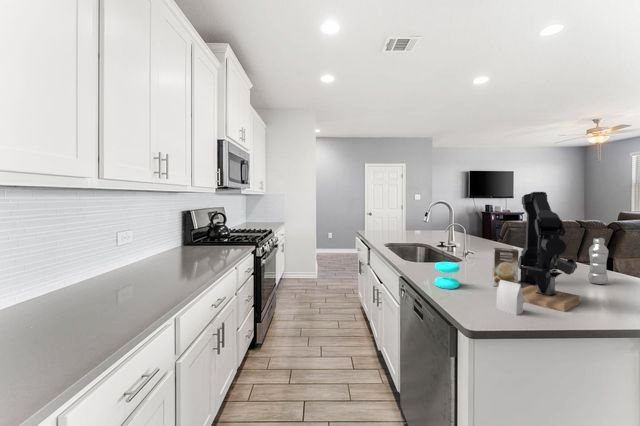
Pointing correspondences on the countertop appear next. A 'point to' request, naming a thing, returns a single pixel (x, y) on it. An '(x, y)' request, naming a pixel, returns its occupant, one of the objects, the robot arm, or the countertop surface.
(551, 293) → the peg
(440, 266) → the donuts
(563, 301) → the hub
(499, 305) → the white upright block
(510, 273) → the coffee box
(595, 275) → the plastic bottle
